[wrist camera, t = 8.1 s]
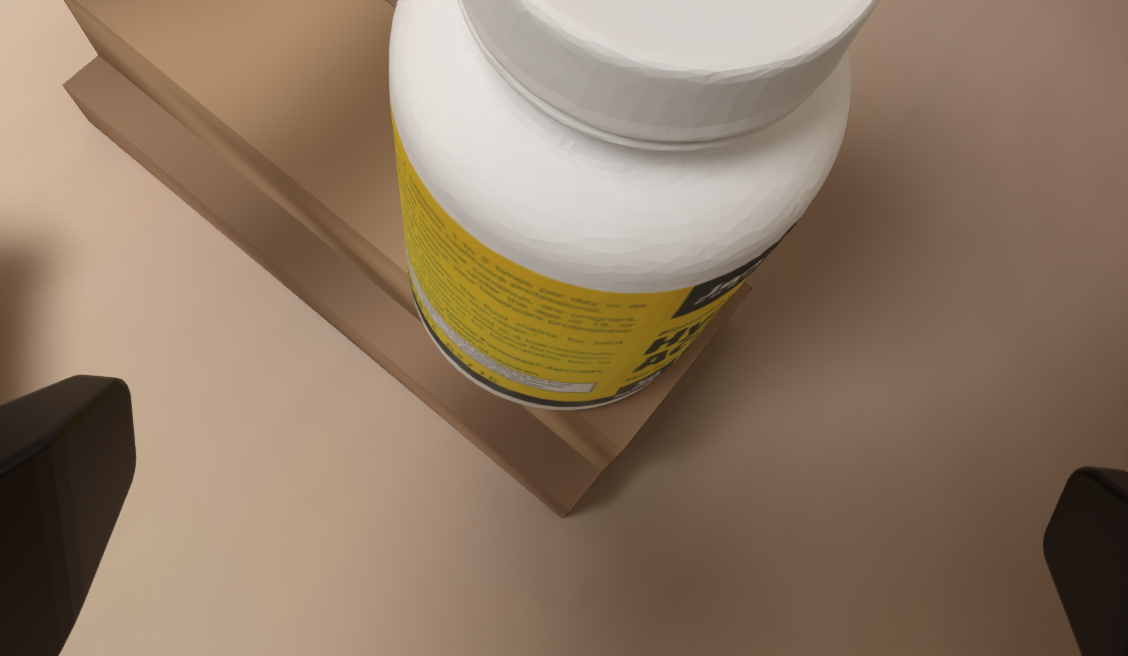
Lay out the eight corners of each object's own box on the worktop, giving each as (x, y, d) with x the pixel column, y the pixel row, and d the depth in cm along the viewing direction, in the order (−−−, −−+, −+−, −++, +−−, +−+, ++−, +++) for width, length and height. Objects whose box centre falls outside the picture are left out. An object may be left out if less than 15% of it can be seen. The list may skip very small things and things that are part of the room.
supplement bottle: (633, 469, 16) (866, 270, 7) (356, 334, 17) (226, -33, 7) (746, 216, 18) (1053, -212, 9) (493, 96, 18) (531, -449, 9)
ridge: (725, 315, 22) (782, 250, 18) (562, 518, 20) (587, 494, 16) (276, -40, 23) (242, -168, 19) (88, 120, 21) (9, 13, 18)
